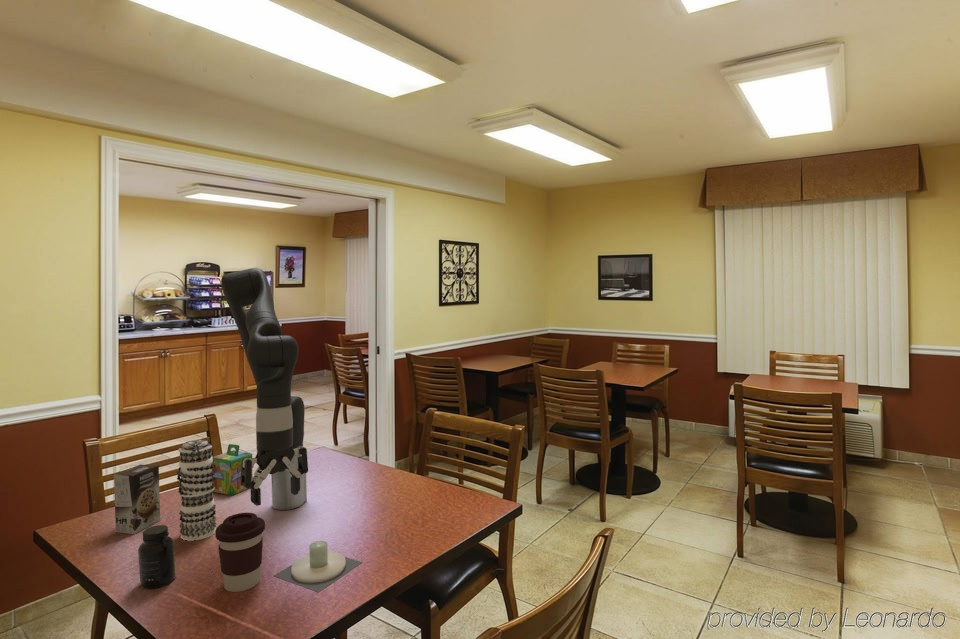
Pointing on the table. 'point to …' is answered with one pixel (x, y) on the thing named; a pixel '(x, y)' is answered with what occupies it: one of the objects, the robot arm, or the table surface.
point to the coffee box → (137, 498)
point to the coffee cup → (240, 550)
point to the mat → (318, 587)
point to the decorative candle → (196, 490)
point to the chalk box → (229, 471)
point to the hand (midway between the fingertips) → (276, 499)
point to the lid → (318, 564)
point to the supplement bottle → (156, 558)
